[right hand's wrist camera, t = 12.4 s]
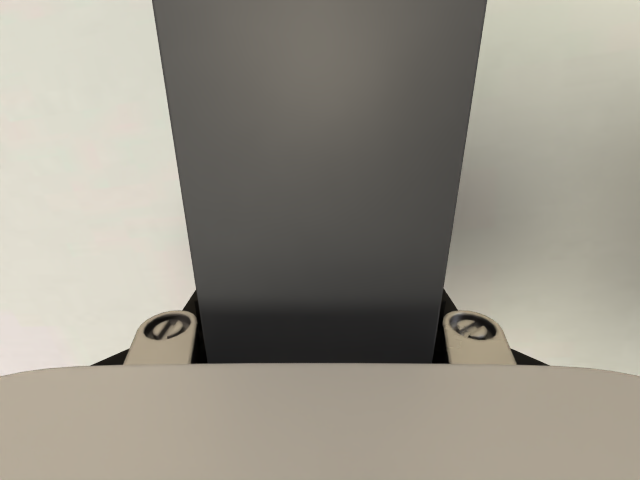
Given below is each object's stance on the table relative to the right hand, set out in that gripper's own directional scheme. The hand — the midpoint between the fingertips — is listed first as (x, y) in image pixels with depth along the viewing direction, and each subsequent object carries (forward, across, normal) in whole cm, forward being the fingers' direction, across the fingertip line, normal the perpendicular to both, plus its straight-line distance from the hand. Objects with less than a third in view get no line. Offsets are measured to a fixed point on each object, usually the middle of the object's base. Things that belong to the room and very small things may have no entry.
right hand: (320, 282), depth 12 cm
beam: (+2, 0, -27) cm, 27 cm away
